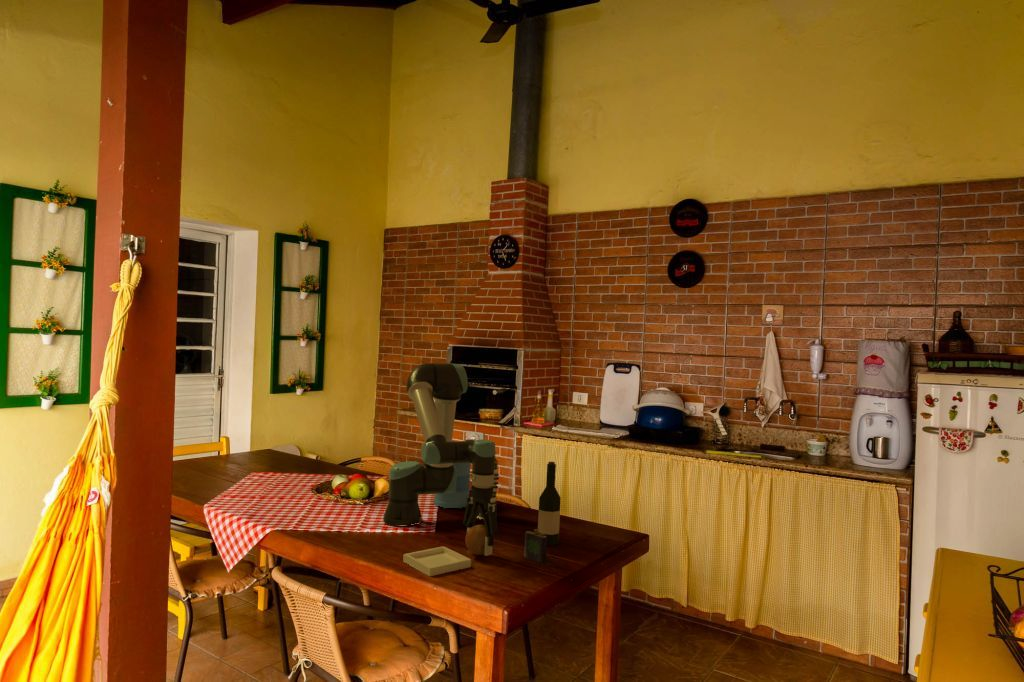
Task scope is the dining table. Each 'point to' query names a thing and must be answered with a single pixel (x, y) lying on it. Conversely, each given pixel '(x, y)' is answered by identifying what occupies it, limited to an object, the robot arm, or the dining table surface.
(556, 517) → the wine bottle
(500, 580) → the dining table surface
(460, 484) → the water jug
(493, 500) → the decorative candle
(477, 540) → the onion
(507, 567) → the dining table surface
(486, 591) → the dining table surface
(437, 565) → the dish
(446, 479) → the robot arm
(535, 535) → the flask
